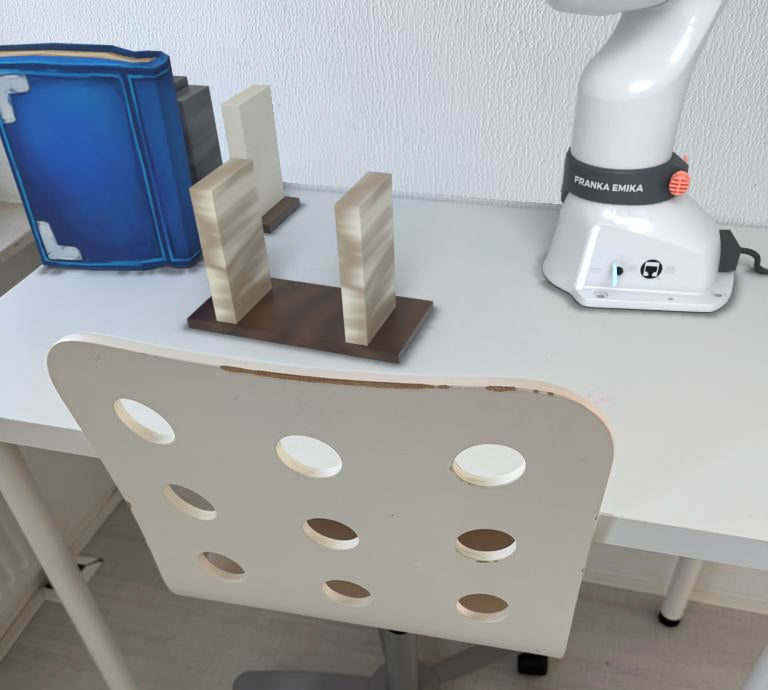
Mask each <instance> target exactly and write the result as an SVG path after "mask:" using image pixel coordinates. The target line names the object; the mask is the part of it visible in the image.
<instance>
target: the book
mask: <svg viewBox="0 0 768 690" xmlns="http://www.w3.org/2000/svg"><path fill="white" fill-rule="evenodd" d="M171 61H172V60H171V56H170V55H169V54H168V53H166V52H164V51H163V50H148V49H147V50H136V51H135V50H131V49H127V48H123V47H120V46H116V45H114V44H95V43H75V42H74V43H73V42H42V43H40V42H39V43H18V44H0V141H1V144H2V147H3V150H4V153H5V155H6V159H7V162H8V164H9V168H10V171H11V174H12V177H13V180H14V183H15V185H16V189H17V191H18V194H19V198H20V200H21V203H22V207H23V210H24V212H25V215H26V219H27V222H28V224H29V226H30V230H31V234H32V236H33V239H34V242H35V245H36V248H37V251H38V254H39V258H40V261H41V263H42V265H43V266H44V267H45V266H46V267H57V268H68V269H69V268H71V269H80V270H91V271H92V270H93V271H148V270H153V269H156V268H161V267H166V266H167V267H172V268H176V269H177V268H190V267H191V266H192V265H193V264H195V263H196V262H197V261H198V260H199V259H201V257H203V252H202V248H201V243H200V238H199V233H198V229H197V224H196V219H195V214H194V210H193V205H192V200H191V196H190V191H189V188H190V187H192V180H191V174H190V169H189V163H188V158H187V152H186V146H185V141H184V135H183V129H182V124H181V118H180V112H179V107H178V101H177V95H176V90H175V84H174V78H173V76H174V74H173V67H172V62H171Z"/></svg>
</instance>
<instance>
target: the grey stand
mask: <svg viewBox="0 0 768 690" xmlns="http://www.w3.org/2000/svg"><path fill="white" fill-rule="evenodd" d="M173 78H174V84H175V90H176V95H177V101H178V107H179V112H180V118H181V124H182V129H183V135H184V141H185V146H186V152H187V158H188V163H189V169H190V174H191V180H192V186H193V185H195V184H196V183H197V182H199V181H200V180H202V179H203V178H204V177H206V176H207V175H209V174H210V173H211V172H213V171H214V170H216V169H217V168H218V167H220V166H221V165H222V164H224V163H223V157H222V151H221V146H220V140H219V135H218V130H217V124H216V117H215V113H214V106H213V102H212V95H211V90H210V86H209V85H201V84H189V80H188V76H185V75H173ZM300 207H301V201H300V197H296V196H295V197H294V196H286V195H284V198H283V199H282V200H281V201H279V202H278V203H277V204H276V205H275V206H274V207H273V208H271V209H270V210H269V211H268V212H267V213H266V214H265V215H263V216H262V217H261V218H262V225H263V231H264V234H272V232H273V231H274V230H276V229H277V228H278V227H279V226H280V225H281V224H282V223H283V222H284V221H285V220H286V219H287V218H289V217H290V216H291V215H292V214H293V213H294V212H295V211H296V210H298V208H300Z"/></svg>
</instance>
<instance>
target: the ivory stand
mask: <svg viewBox="0 0 768 690" xmlns="http://www.w3.org/2000/svg"><path fill="white" fill-rule="evenodd" d="M392 174H393V173H390V172H379V171H367V172H366V173H365V174H364V175H363V176H361V178H360V179H359V180H358V181H357V182H356V183H355V184H354V185H352V187H351V188H350V189H349V190H347V192H346V193H345V194H343V196H342V197H340V199H339V200H337V202H335V203H334V219H335V230H336V241H337V243H336V244H337V253H338V254H337V256H338V266H339V279H340V287H339V286H333V285H327V284H326V285H325V284H318V283H312V282H306V281H299V280H291V279H284V278H277V277H272V276H271V273H270V265H269V258H268V252H267V244H266V239H265V238H266V237H265V233H264V231H263V225H262V218H261V212H260V205H259V198H258V192H257V185H256V178H255V172H254V165H253V160H249V159H239V158H231V159H230V158H229V159H228V160H226V161H225V162H224V163H223V164H222V165H221V166H220V167H218V168H217V169H216V170H214V171H213V172H211V173H210V174H209V175H207V176H206V177H204V178H203V179H202V180H200V181H199V182H197V183H196V184H195V185H193V186H192V187H190V188H189V191H190V196H191V200H192V205H193V210H194V214H195V219H196V224H197V229H198V233H199V238H200V243H201V248H202V257H203V262H204V266H205V270H206V275H207V280H208V285H209V289H210V290H209V291H210V297H209V298H207V299H206V300H205V301H204V302H203V303H202V304H200V306H199V307H198V308H197V309H195V310H194V311H193V312H192V313H191V314H190V315H189V316H188V317H187V318H186V321H187V325H188V328H189V329H195V330H200V331H205V332H212V333H218V334H224V335H229V336H235V337H241V338H246V339H253V340H259V341H263V342H269V343H276V344H282V345H288V346H294V347H300V348H305V349H311V350H316V351H322V352H327V353H332V354H333V353H334V354H340V355H346V356H351V357H357V358H363V359H369V360H375V361H381V362H386V363H393V364H396V365H397V364H400V362H401V361H402V359H403V358H404V356H405V354H406V353H407V351H408V350H409V349H410V347H411V345H412V343H413V342H414V340H415V339H416V337H418V334H419V333H420V332H421V330H422V328H423V327H424V325H425V323H426V322H427V321H428V319H429V318H430V316H431V314H432V312H433V311H434V301H433V300H429V299H420V298H416V297H415V298H414V297H407V296H403V295H396V271H395V270H396V268H395V267H396V266H395V264H396V263H395V239H394V237H395V236H394V235H395V233H394V204H393V203H394V202H393V201H394V200H393V175H392Z"/></svg>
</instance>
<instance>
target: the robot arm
mask: <svg viewBox="0 0 768 690" xmlns="http://www.w3.org/2000/svg"><path fill="white" fill-rule="evenodd" d="M544 1H545V3H546V4H547V5H548V6H549V7H550V8H552V10H555V11H556V12H560V13H565V14H571V15H572V14H573V15H578V16H579V15H581V16H591V17H604V16H610V15H615V14H620V13H621V15H620V17H619V19H618V22H617V24H616V26H615V28H614V29H613V31H612V33H611V35H610V36H609V38H608V40H607V41H606V43H604V45H602V47H601V48H600V49H599V50H598V51H597V52H596V53H595V54H594V55H593V56H592V58H590V59H589V61H588V62H587V64H586V65H585V66H584V68H583V70H582V72H581V74H580V77H579V80H578V84H577V91H576V92H577V93H576V100H575V108H574V116H573V125H572V133H571V140H570V146H569V147H568V149H567V151H566V153H565V157H564V160H563V164H562V165H563V166H562V173H561V182H560V201H561V206H560V210H559V214H558V219H557V222H556V226H555V231H554V234H553V237H552V240H551V243H550V246H549V249H548V251H547V254H546V255H545V258H544V261H543V263H542V273H543V275H544V276H545V278H546V279H547V280H548V281H549V282H550V283H552V284H553V285H554V286H556V287H557V288H559V289H561V290H563V291H564V292H567V293H568V294H569V295H570V296H572V297H573V299H574V300H575V301H576V302H577V303H579V304H580V305H581V306H583V307H587V308H588V307H589V308H606V309H625V310H626V309H629V310H647V311H649V310H650V311H669V312H692V313H713V312H715V311H717V310H719V309H721V308H723V306H725V305H726V304H727V302H728V301H729V299H730V298H731V295H732V293H733V287H734V281H735V273H734V272H735V271H736V270H737V268H738V264H739V260H740V257H741V254H743V255H747V256H750V257H751V258H753V259H754V261H753V269H754V270H755V272H757V273H758V274H761V275H767V276H768V269H767V268H765V267H764V266H762V265H761V263H762V262H761V261H762V257H761V255H760V253H759V252H758V251H756V250H754V249H753V248H749V247H748V248H747V247H743V246H741V245H740V243H739V242H738V240H737V239H736V237H735V234H734V233H733V232H732V230H731V229H720V228H719V226H718V223H717V221H716V220H715V218H713V216H712V215H711V214H710V213H708V212H707V211H706V210H705V209H704V208H703V207H702V206H701V205H700V204H699V203H698V202H697V201H696V200H695V199H694V198H693V197H692V196H690V194H689V193H687V192H688V189H689V188H690V182H691V177H690V174H689V167H690V165H689V164H688V160H689V159H688V157H687V155H686V154H684V155H683V158H682V157H681V156H680V155H678V153H676V152H675V151H674V147H675V144H676V138H677V133H678V129H679V125H680V121H681V117H682V112H683V109H684V104H685V101H686V96H687V92H688V88H689V85H690V82H691V79H692V76H693V73H694V70H695V67H696V65H697V63H698V60H699V58H700V55H701V53H702V52H703V49H704V47H705V45H706V44H707V43H706V42H707V41H708V39H709V37H710V35H711V33H712V31H713V29H714V27H715V26H716V24H717V21H719V18H720V16H721V14H722V13H723V11H724V9H725V8H726V6H727V4H728V3H729V1H730V0H544Z"/></svg>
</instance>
